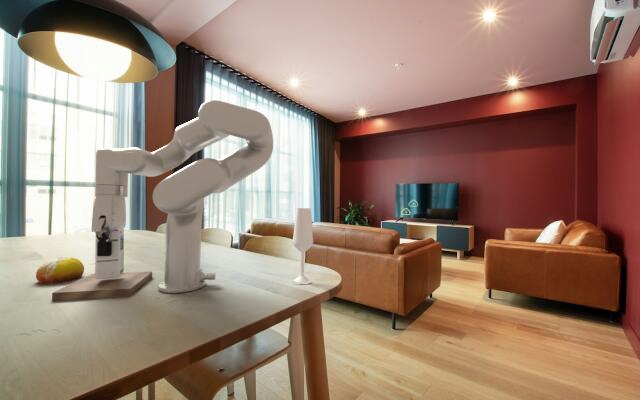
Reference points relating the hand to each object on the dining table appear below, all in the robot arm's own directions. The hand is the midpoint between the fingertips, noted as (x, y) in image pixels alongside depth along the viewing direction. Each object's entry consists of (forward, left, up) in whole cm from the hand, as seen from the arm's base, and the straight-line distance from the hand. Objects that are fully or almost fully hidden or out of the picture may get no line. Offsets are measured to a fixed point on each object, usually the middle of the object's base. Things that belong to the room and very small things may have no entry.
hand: (110, 253), depth 79 cm
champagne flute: (-56, +5, -10) cm, 57 cm away
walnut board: (0, 0, -10) cm, 10 cm away
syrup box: (0, 0, -7) cm, 7 cm away
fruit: (+18, -12, -10) cm, 24 cm away
